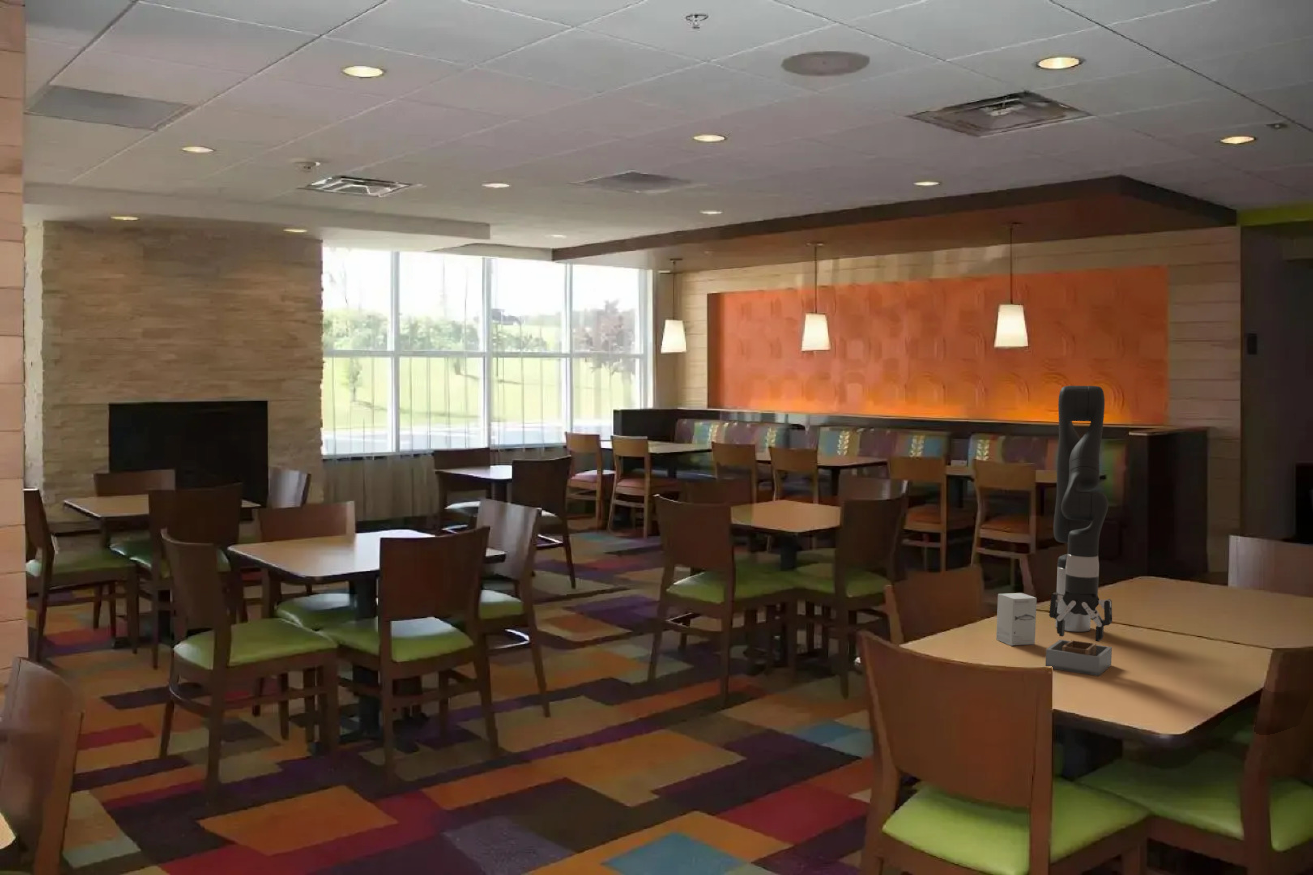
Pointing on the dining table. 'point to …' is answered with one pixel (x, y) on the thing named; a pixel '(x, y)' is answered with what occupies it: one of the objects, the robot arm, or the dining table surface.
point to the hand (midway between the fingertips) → (1079, 638)
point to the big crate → (1078, 659)
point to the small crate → (1080, 647)
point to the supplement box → (1016, 619)
